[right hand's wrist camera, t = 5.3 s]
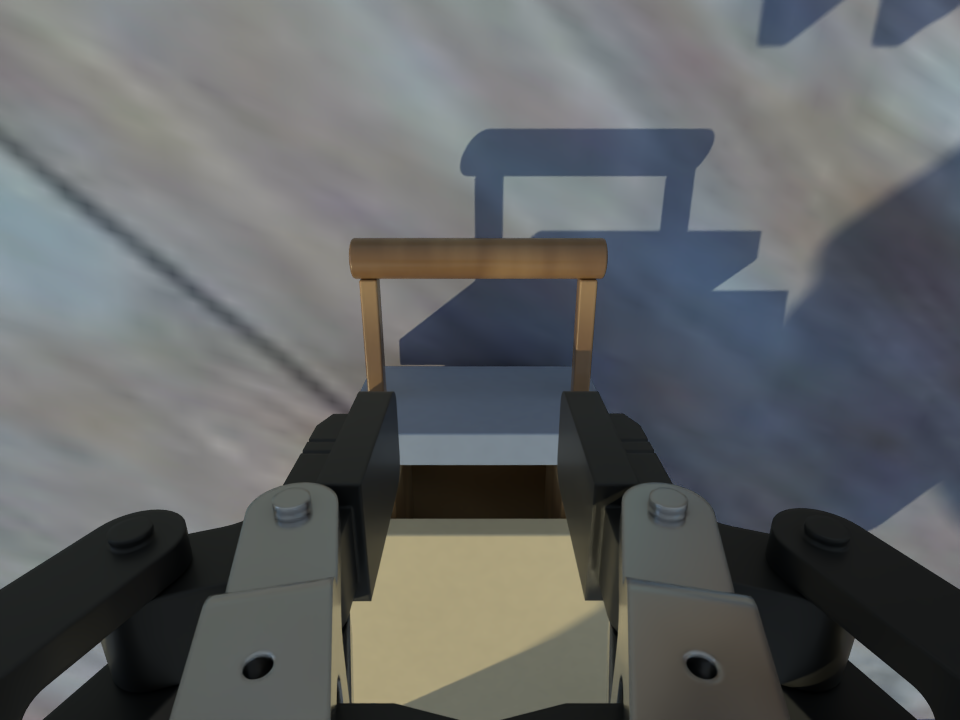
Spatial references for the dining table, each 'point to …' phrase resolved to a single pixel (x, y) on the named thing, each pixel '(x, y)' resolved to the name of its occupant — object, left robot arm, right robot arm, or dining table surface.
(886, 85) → the dining table surface
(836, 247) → the dining table surface
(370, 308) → the drawer
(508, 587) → the cabinet
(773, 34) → the dining table surface
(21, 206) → the dining table surface
